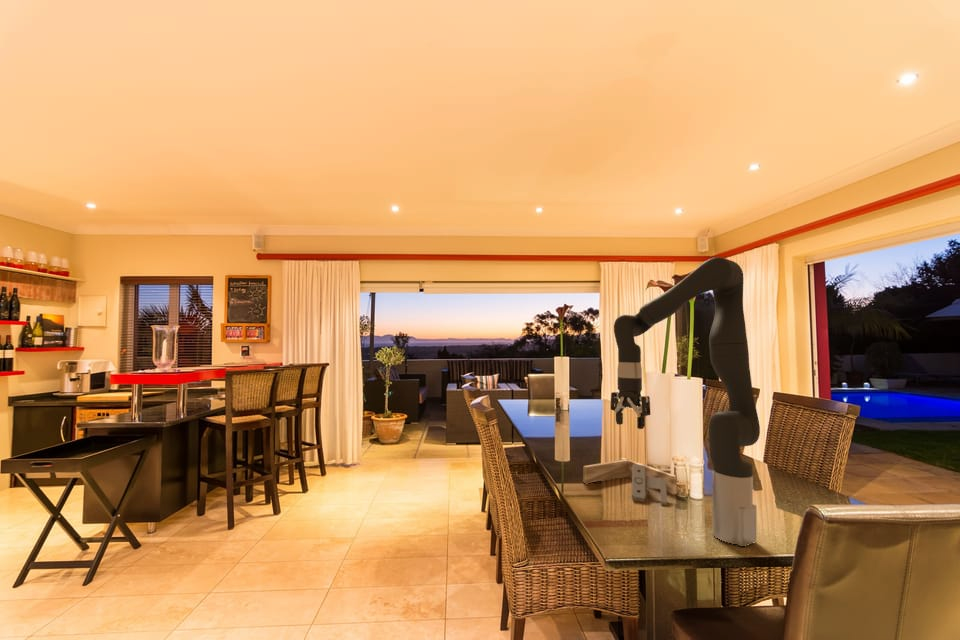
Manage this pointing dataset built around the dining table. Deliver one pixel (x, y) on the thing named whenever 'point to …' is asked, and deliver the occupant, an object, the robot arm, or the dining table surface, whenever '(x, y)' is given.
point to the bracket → (646, 485)
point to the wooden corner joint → (624, 473)
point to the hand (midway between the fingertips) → (629, 426)
